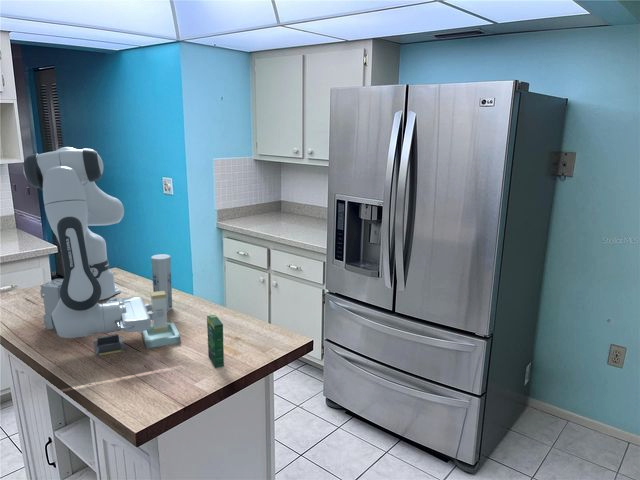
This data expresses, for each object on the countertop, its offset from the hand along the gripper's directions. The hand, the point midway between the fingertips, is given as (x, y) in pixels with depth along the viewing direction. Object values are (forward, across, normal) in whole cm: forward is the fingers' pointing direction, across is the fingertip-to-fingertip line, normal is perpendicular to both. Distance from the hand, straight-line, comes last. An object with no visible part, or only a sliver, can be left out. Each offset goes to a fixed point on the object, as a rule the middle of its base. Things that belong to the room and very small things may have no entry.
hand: (162, 309), depth 147 cm
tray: (-1, 0, +10) cm, 10 cm away
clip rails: (-16, 0, +10) cm, 19 cm away
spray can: (+4, +25, +10) cm, 27 cm away
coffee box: (+11, -21, +10) cm, 26 cm away
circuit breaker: (-26, +21, +10) cm, 35 cm away
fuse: (-1, 0, +6) cm, 6 cm away
